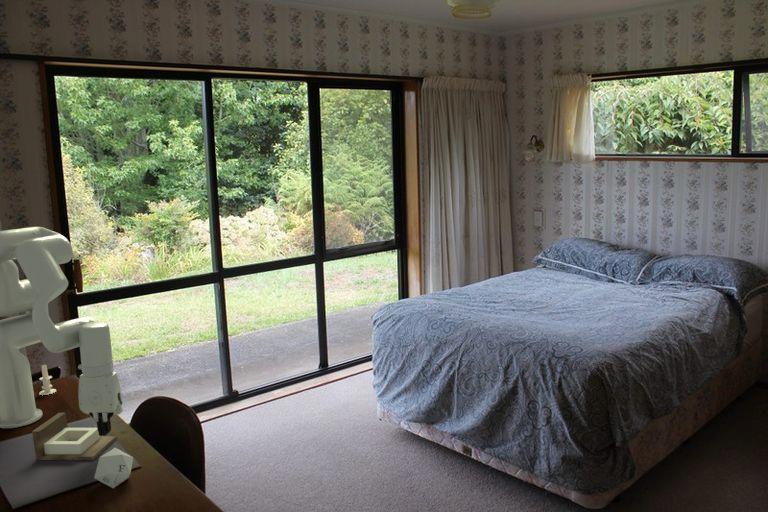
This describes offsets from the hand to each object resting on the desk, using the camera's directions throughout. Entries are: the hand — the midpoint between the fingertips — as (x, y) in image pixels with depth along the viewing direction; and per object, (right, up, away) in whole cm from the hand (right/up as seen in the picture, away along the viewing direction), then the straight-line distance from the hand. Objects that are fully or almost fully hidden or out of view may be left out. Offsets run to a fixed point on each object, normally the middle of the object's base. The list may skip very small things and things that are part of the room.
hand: (104, 433), depth 177 cm
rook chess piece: (-7, -3, +14) cm, 16 cm away
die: (+10, -7, -18) cm, 22 cm away
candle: (-38, +1, +45) cm, 59 cm away
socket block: (-9, -4, +1) cm, 10 cm away
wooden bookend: (-8, -5, +1) cm, 9 cm away
